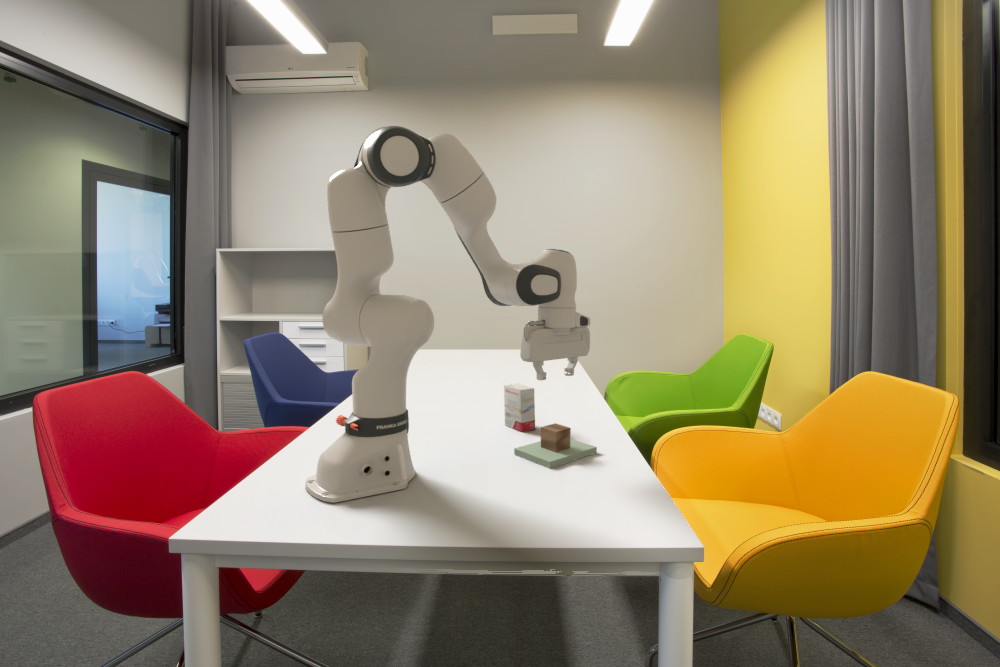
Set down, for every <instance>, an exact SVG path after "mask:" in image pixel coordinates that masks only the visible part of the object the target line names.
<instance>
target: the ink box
mask: <svg viewBox="0 0 1000 667" xmlns="http://www.w3.org/2000/svg"><path fill="white" fill-rule="evenodd" d="M503 389H504V390H503V391H504V392H503V393H504V394H503V396H504V397H503V399H504V400H503V401H504V425H505V427H508V428H511V429H513V430H517V431H519V432H522V433H524V432H528V431H531V430H536V415H535V414H536V412H535V408H536V406H535V405H536V404H535V388H533V387H531V386H526V385H523V384H520V383H512V384H505V385H503Z"/></svg>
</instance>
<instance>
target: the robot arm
mask: <svg viewBox="0 0 1000 667" xmlns="http://www.w3.org/2000/svg"><path fill="white" fill-rule="evenodd" d="M353 165H354V166H353V167H351V168H345V169H342V170H339V171H337V172H335V173H334V174H333V175H332V176H331V177H330V178H329V180H328V182H327V192H326V194H327V195H326V196H327V198H326V199H327V209H328V210H327V212H328V218H329V219H328V220H329V226H330V231H331V236H332V242H333V246H334V252H335V259H336V263H337V265H336V266H337V281H336V287H335V290H334V293H333V296H332V297H331V298H330V300H329V301H328V302H327V303H326V305H325V307H324V309H323V312H322V326H323V329H324V331H325V333H326V334H327V336H329V338H330V339H333V340H335V341H338V342H340V343H343V344H346V345H349V346H359V347H360V346H361V347H370V353H369V358H368V361H367V363H366V364H365V365H364V366H362V367H360V368H359V369H358V370H356V372H355V373H354V375H353V376H352V379H351V380H352V381H351V390H352V391H351V392H352V394H351V395H352V396H351V397H352V412H351V414H350V415H349V416H348V417H347V416H345V415H342V414H341V415H338V416H337V417H336V418H335V419H336V420H335V422H336V424H337V425H338V426H340V427H344V430H345V432H343V433H342V434H341V435H340V436H339V437H338V438H337V439H336V440H335V441H334V442H333V443H332V444H330V445H329V446H328V447H327V448H326V449H325V450H323V451H322V452H321V453H320V456H319V457H318V460H317V466H316V473H315V475H312V476H308V477H307V478H306V480H305V486H306V487H305V489H306V491H307V492H308V493H309V494H310V495H311V496H312V497H313V498H316V499H318V500H320V501H323V502H326V503H339V502H344V501H345V502H346V501H349V500H350V501H351V500H355V499H360V498H365V497H370V496H374V495H376V496H377V495H380V494H385V493H390V492H394V491H395V492H396V491H401V490H403V489H404V490H405V489H406V488H408V485H409V482H410V481H411V480H412V479H414V477H415V476H416V470H415V468H414V465H413V460H412V457H411V456H412V455H411V451H410V445H409V436H408V434H409V427H410V426H409V425H410V422H409V420H410V418H409V409H407V378H408V372H409V368H410V365H411V363H412V360H413V358H414V357H415V355H416V354H417V352H418V351H419V350H420V349H421V348H422V347H423V346H424V345H426V343H428V342H429V340H430V338H431V337H432V335H433V332H434V329H435V316H434V313H433V310H432V308H431V307H430V305H429V304H428V303H427V302H426V301H425V300H422V299H419V298H415V297H412V296H408V295H405V294H404V295H403V294H381V292H380V291H381V290H380V283H381V278H382V276H384V274H386V273H387V272H389V270H390V269H391V268H392V266H393V264H394V262H395V260H394V259H395V256H394V251H393V250H394V249H393V245H392V239H391V233H390V227H389V221H388V216H387V212H386V198H387V195H388V193H389V190H390V189H391V188H400V187H401V188H403V187H407V186H411V185H413V184H416V183H418V182H421V183H423V184H424V185H425V186H427V188H428V189H429V190H430V191H431V192H432V194H433V195H434V197H435V198H436V200H437V202H438V203H439V204H440V206H441V208H442V209H443V210H444V212H445V214H446V215H447V216H448V218H449V220H450V221H451V224H452V225H453V227H454V231H455V234H456V235H457V236H458V237H457V238H459V240H460V242H461V244H462V245H463V247H464V249H465V251H466V252H467V254H468V256H469V258H470V259H471V261H472V263H473V264H474V266H475V268H476V269H477V271H478V274H479V275H480V278H481V282H482V285H483V289H484V293H485V295H486V296H487V298H488V300H489V301H490V302H492V304H495V305H496V306H499V307H510V306H517V307H534V306H538V308H537V309H538V310H537V312H538V313H537V320H529V321H528V322H527V323H525V326H524V327H523V330H522V331H523V333H522V336H521V337H522V338H521V342H520V354H519V355H520V359H521V360H522V361H523V362H526V363H532V366H533V368H534V370H535V373H536V380H537V381H545V380H547V372H546V371H544V368H543V366H544V362H547V361H553V360H555V361H556V360H562V359H567V361H568V363H567V366H566V367H565V368H564V376H567V377H572V376H575V368H576V366H577V363H578V361H579V357H586V356H588V354H589V352H590V350H591V349H590V348H591V332H590V329H589V327H590V326H591V318H590V317H589V316H586V315H584V314H582V313H580V312H577V304H576V300H575V296H576V292H577V287H578V286H577V282H578V281H577V280H578V276H577V274H578V273H577V264H576V259H575V257H574V255H573V254H572V253H570V252H569V251H566V250H562V249H557V248H556V249H555V248H547V249H543V250H542V252H541V253H540V254H538V256H536V257H534V258H532V259H530V260H528V261H524V262H525V263H523V262H521V263H510V262H508V261H507V260H505V259H504V258H503V257H502V256H501V254H500V253H499V251H498V249H497V247H496V246H495V244H494V241H493V240H492V238H491V236H490V234H489V232H488V227H487V226H488V222H489V221H490V219H491V218H492V216H493V215H494V212H495V210H496V207H497V195H496V192H495V190H494V187H493V185H492V183H491V181H490V180H489V178H488V176H487V175H486V174H485V172H484V170H482V168H481V165H480V164H479V163H478V162H477V160H476V159H475V158H474V156H473V155H472V154H471V152H470V151H469V150H468V149H467V148H466V146H464V144H463V143H462V142H460V140H459V139H458V138H457V137H456V136H455V135H454V134H450V133H448V132H447V133H443V132H441V133H438V134H435V135H432V136H430V137H429V138H426V137H424V136H421V135H420V134H418V133H416V132H414V131H412V130H411V129H408V128H406V127H403V126H399V125H389V126H382V127H380V128H377V129H375V130H374V131H372V132H371V133H370V134H369V135H367V137H366V138H365V139H364V140H363V142H362V144H361V146H360V148H359V150H358V154H357V157H356V160H355V163H354V164H353Z"/></svg>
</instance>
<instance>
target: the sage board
mask: <svg viewBox="0 0 1000 667" xmlns="http://www.w3.org/2000/svg"><path fill="white" fill-rule="evenodd" d="M513 449H514V450H513V452H514V454H515V456H517V457H519V456H520V457H519V458H522V459H524V458H525V460H528V461H529V462H532V463H535V464H538V465H540V466H543V467H545V468H548V469H553V468H555V467H558V466H562V465H564V464H567V463H570V462H573V461H576V460H580V459H582V458H586V457H588V455H589V456H591V455H590V454H592V455H594V454H593V453H595V454H597V453H598V452H597V450H598V449H597V446H594V445H592V444H588V443H585V442H582V441H579V440H576V439H572V438H570V448H569V449H566V450H562V451H559V452H553V451H550V450H547V449H544V448H542V447H541V440H540V441H535V442H531V443H529V444H525V445H522V446H518V447H514V448H513ZM596 452H597V453H596ZM585 456H586V457H585ZM579 458H580V459H579Z"/></svg>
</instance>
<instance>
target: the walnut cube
mask: <svg viewBox="0 0 1000 667" xmlns="http://www.w3.org/2000/svg"><path fill="white" fill-rule="evenodd" d="M571 431H572V429H571V427H568V426H566V425H562V424H559V423H556V422H555V423H552V424H548V425H544V426H541V427H540V441H541V447H542V448H544V449H547V450H550V451H553V452H559V451H562V450H566V449H569V448H570V439H571Z"/></svg>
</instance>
